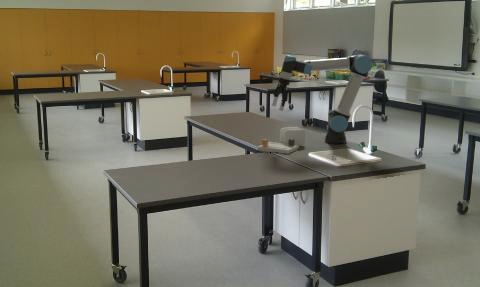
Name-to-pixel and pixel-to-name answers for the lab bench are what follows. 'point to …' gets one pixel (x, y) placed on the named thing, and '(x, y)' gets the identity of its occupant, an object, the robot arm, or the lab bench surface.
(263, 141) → the orange fader
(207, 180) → the lab bench surface
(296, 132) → the cable organizer
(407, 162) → the lab bench surface
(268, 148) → the mixing board
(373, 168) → the lab bench surface
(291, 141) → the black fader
